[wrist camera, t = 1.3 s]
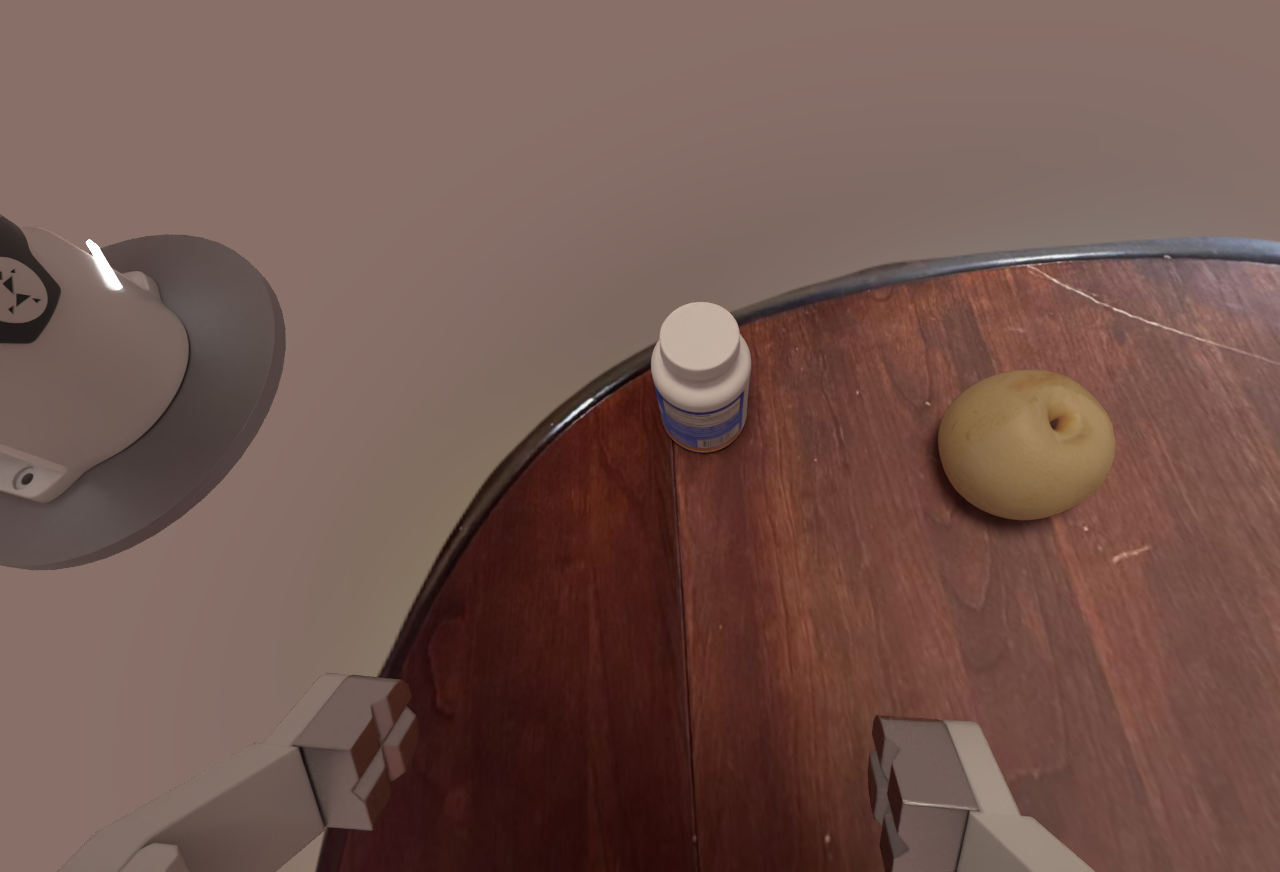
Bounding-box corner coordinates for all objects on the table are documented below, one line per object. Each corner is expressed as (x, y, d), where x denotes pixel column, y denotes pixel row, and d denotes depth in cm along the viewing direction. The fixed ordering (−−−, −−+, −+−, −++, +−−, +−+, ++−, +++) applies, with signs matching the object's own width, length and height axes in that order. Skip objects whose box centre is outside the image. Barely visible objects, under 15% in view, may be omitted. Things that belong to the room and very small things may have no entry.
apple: (889, 432, 37) (971, 330, 32) (996, 445, 39) (1088, 352, 34) (948, 543, 32) (1058, 442, 27) (1068, 551, 34) (1190, 460, 29)
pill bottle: (678, 369, 41) (664, 277, 32) (757, 390, 40) (766, 300, 31) (650, 441, 39) (627, 365, 31) (732, 466, 38) (734, 394, 29)
